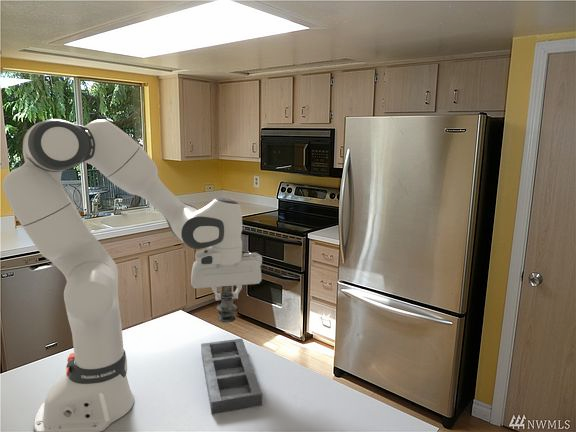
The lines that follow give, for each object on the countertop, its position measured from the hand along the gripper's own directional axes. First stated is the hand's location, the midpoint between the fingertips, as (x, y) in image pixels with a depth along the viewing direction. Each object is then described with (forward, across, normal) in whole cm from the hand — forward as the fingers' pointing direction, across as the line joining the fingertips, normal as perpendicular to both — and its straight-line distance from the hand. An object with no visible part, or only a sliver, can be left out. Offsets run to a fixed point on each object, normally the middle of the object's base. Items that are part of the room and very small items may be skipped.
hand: (226, 299), depth 123 cm
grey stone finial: (+6, 0, 0) cm, 6 cm away
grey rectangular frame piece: (+21, 0, +8) cm, 22 cm away
